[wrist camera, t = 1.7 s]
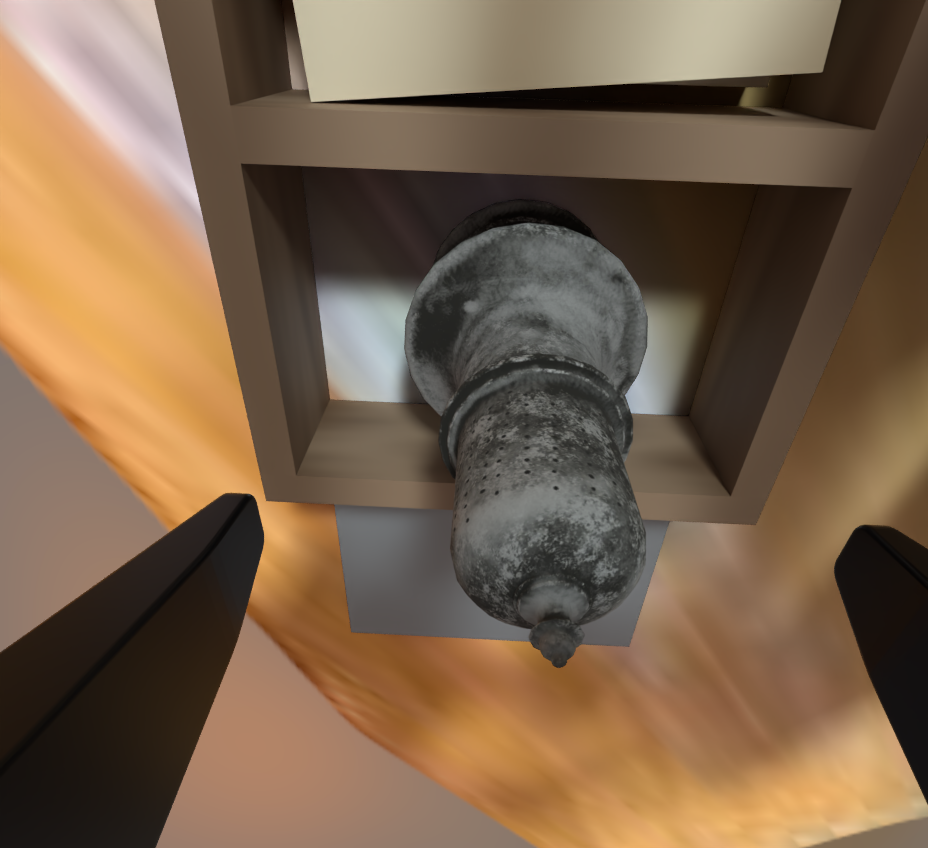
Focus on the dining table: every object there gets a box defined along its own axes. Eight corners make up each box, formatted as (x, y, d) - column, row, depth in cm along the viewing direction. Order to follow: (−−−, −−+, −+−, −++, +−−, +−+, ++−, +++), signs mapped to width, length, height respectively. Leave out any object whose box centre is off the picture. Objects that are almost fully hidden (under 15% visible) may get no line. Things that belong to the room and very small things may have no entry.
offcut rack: (952, -264, 10) (1166, -403, 7) (710, 441, 19) (755, 524, 16) (192, -285, 11) (58, -430, 7) (303, 422, 20) (266, 501, 16)
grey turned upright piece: (632, 355, 18) (813, 759, 8) (453, 397, 19) (412, 797, 9) (603, 158, 15) (841, 415, 5) (390, 223, 16) (219, 542, 6)
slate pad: (669, 479, 20) (676, 498, 20) (624, 626, 25) (628, 646, 24) (337, 464, 21) (331, 481, 20) (355, 612, 25) (351, 632, 25)
